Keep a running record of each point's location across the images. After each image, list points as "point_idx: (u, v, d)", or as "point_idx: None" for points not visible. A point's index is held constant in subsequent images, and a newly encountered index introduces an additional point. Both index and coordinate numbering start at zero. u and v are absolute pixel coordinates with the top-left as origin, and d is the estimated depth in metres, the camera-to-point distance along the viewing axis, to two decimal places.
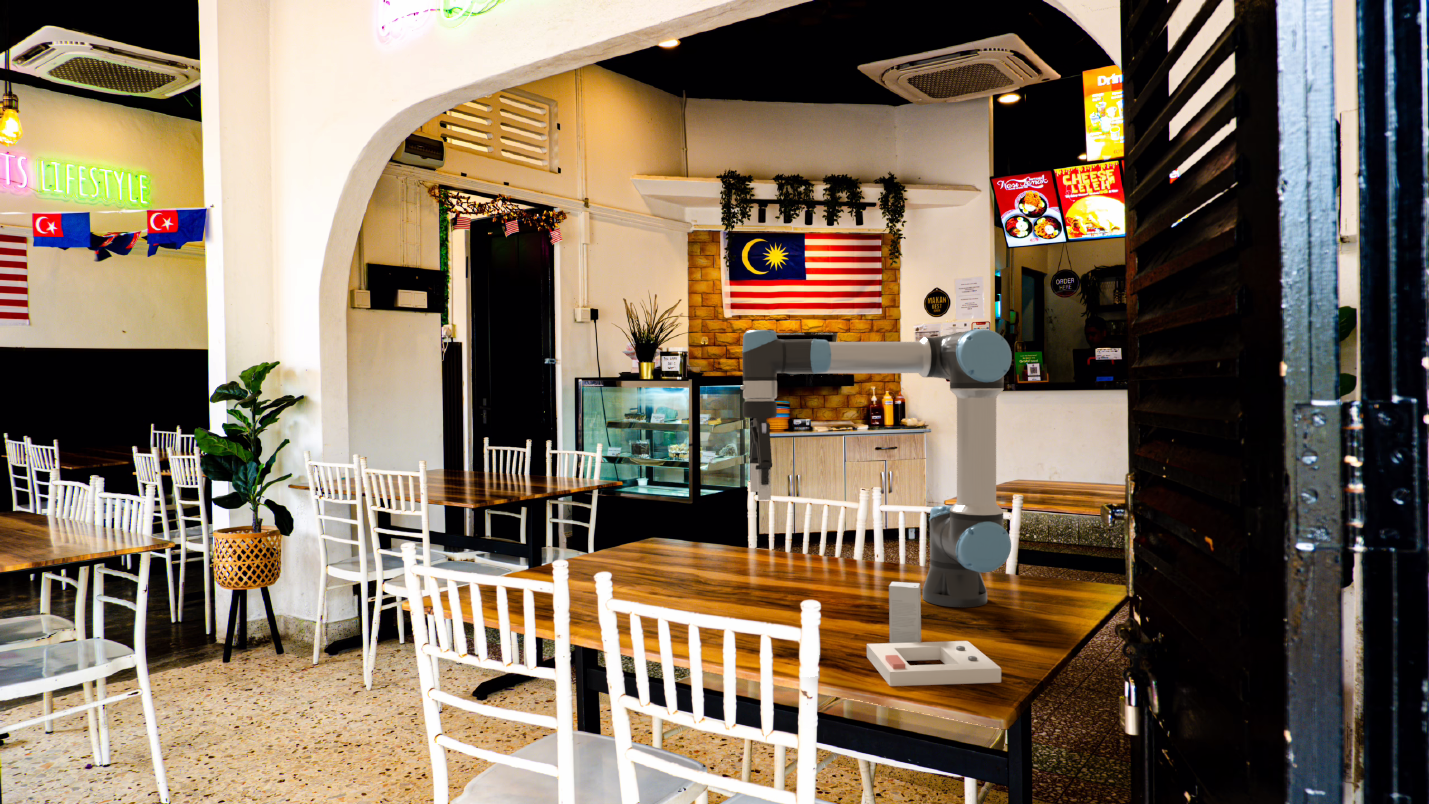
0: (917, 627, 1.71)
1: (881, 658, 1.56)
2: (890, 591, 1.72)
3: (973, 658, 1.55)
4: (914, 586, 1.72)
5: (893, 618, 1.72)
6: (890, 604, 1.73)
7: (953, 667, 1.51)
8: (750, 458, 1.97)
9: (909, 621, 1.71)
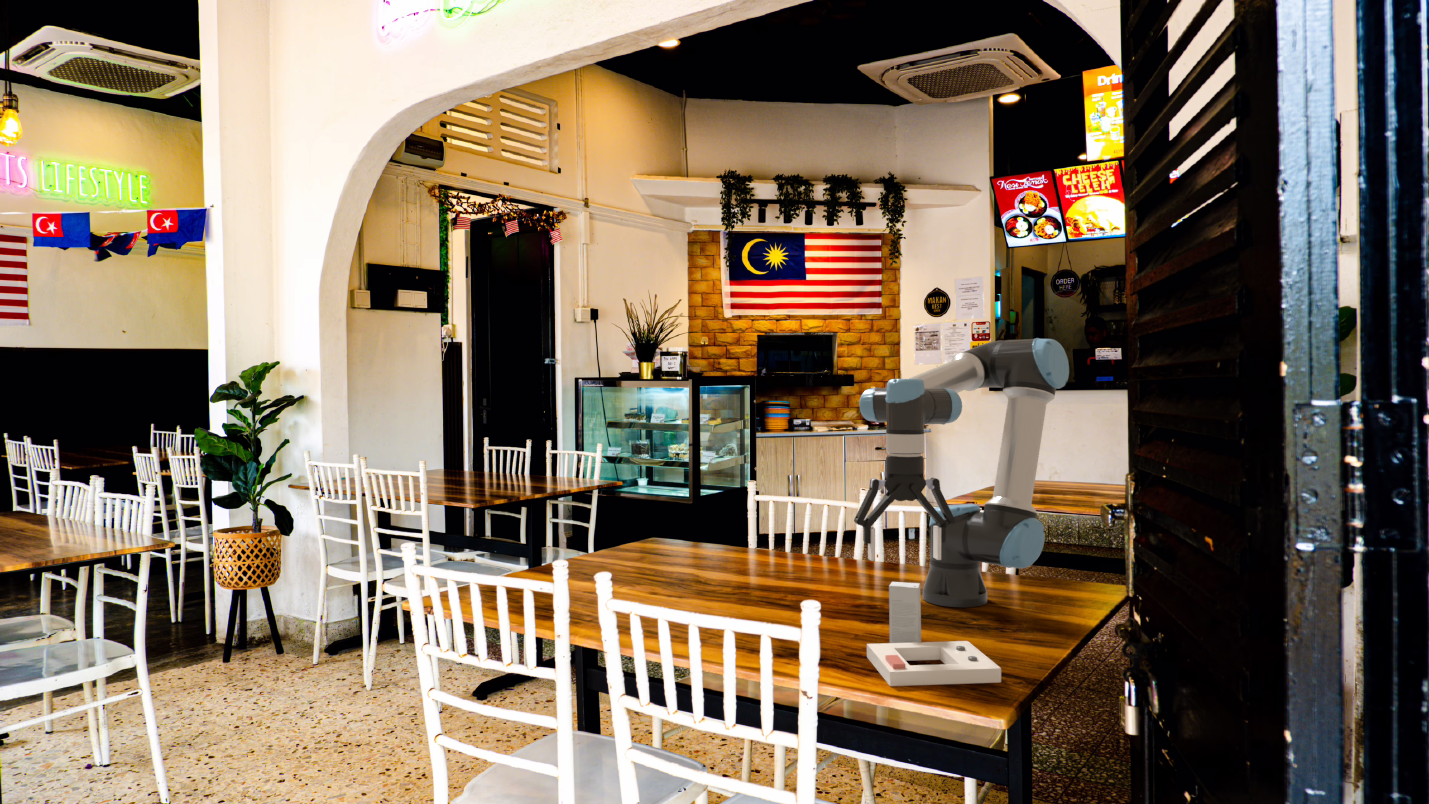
0: (917, 627, 1.71)
1: (881, 658, 1.56)
2: (890, 591, 1.72)
3: (973, 658, 1.55)
4: (914, 586, 1.72)
5: (893, 618, 1.72)
6: (890, 604, 1.73)
7: (953, 667, 1.51)
8: None
9: (909, 621, 1.71)
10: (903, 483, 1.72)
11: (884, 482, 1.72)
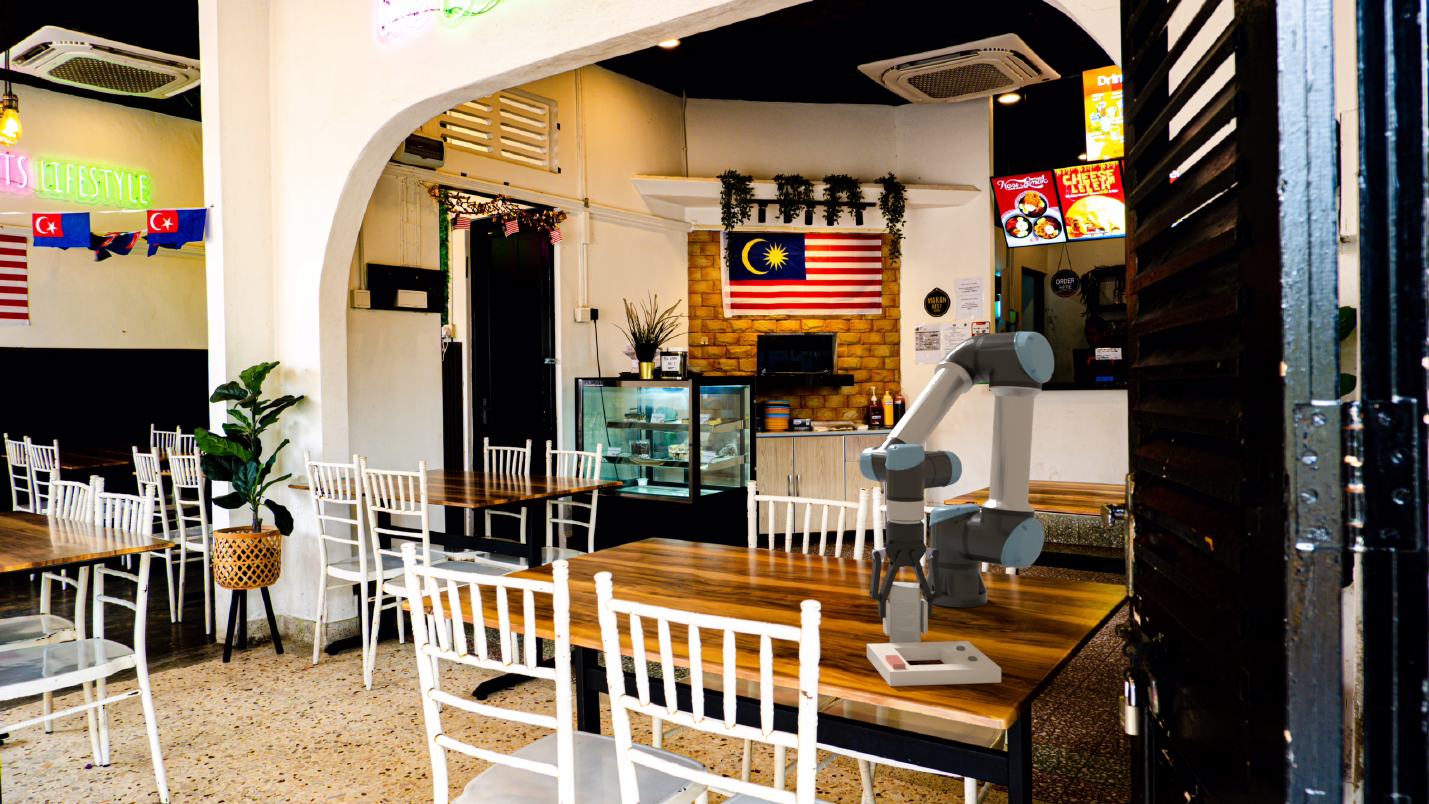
0: (917, 627, 1.71)
1: (881, 658, 1.56)
2: (890, 591, 1.72)
3: (973, 658, 1.55)
4: (914, 586, 1.72)
5: (893, 617, 1.72)
6: (890, 604, 1.72)
7: (953, 667, 1.51)
8: None
9: (909, 620, 1.71)
10: (903, 545, 1.72)
11: (884, 550, 1.72)
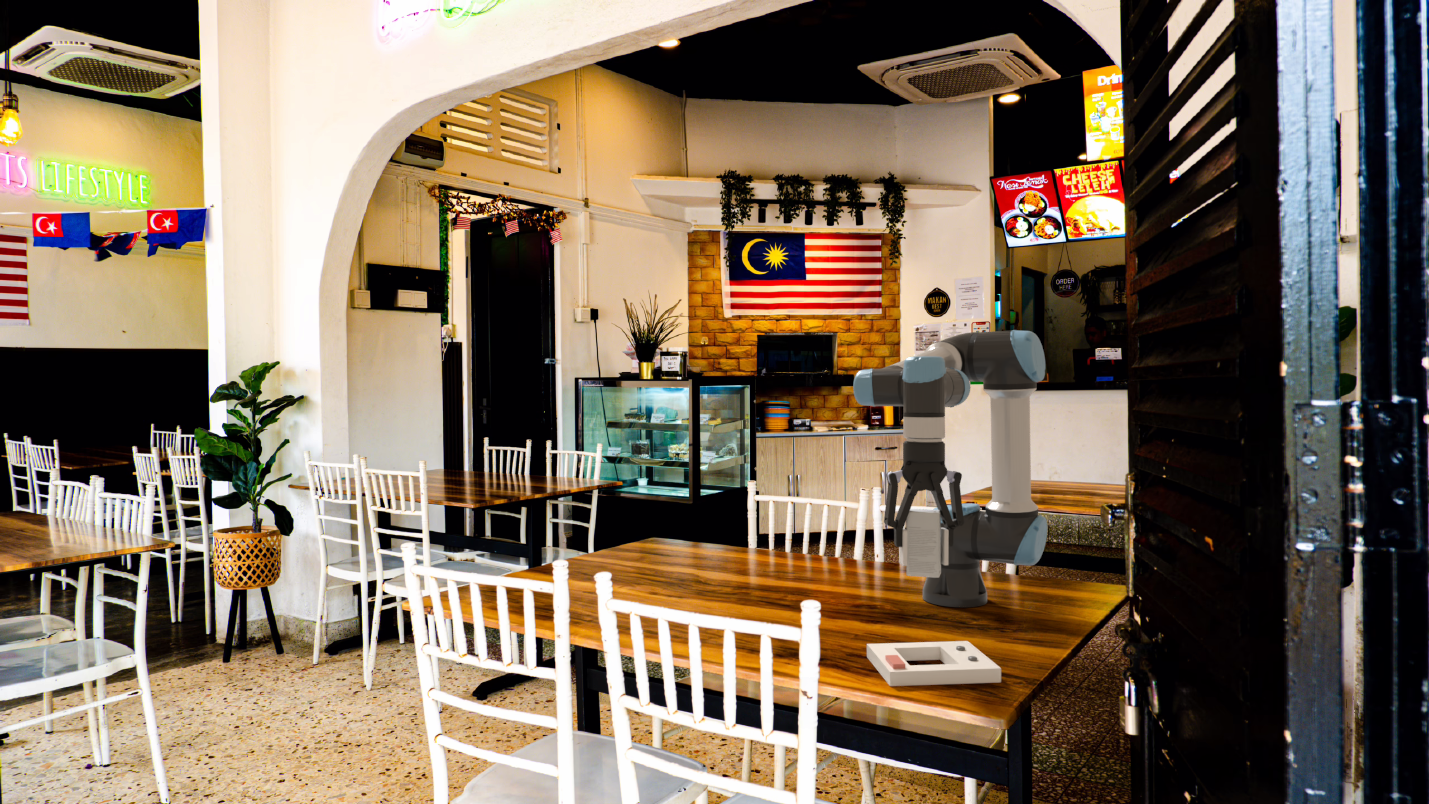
0: (937, 556, 1.55)
1: (881, 658, 1.56)
2: (907, 517, 1.57)
3: (973, 658, 1.55)
4: (934, 511, 1.56)
5: (910, 546, 1.56)
6: (907, 531, 1.57)
7: (953, 667, 1.51)
8: None
9: (928, 549, 1.55)
10: (921, 467, 1.56)
11: (901, 472, 1.57)
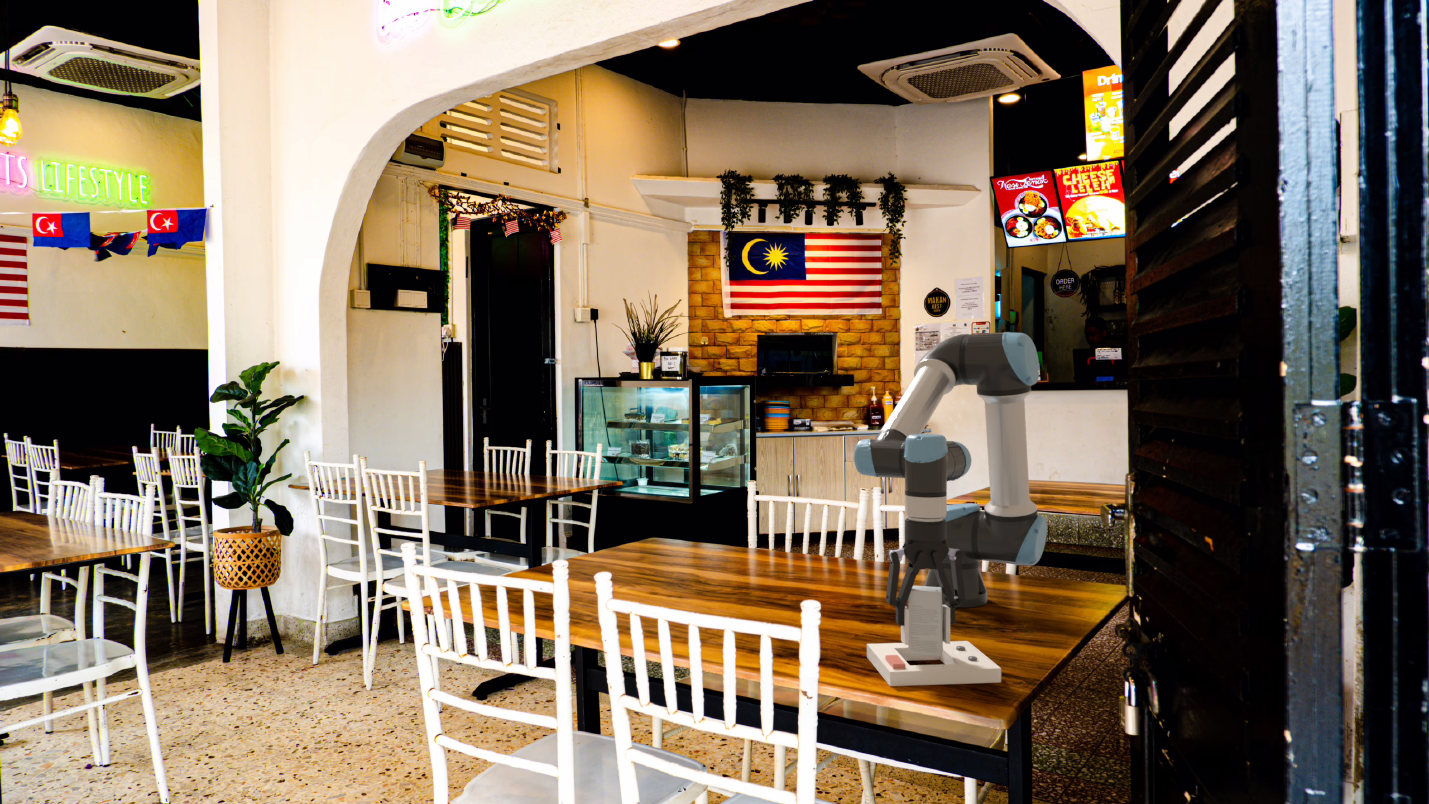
0: (939, 635, 1.55)
1: (881, 658, 1.56)
2: (909, 596, 1.56)
3: (973, 658, 1.55)
4: (936, 590, 1.56)
5: (912, 625, 1.56)
6: (909, 610, 1.56)
7: (953, 667, 1.51)
8: None
9: (930, 628, 1.55)
10: (923, 545, 1.56)
11: (903, 551, 1.56)
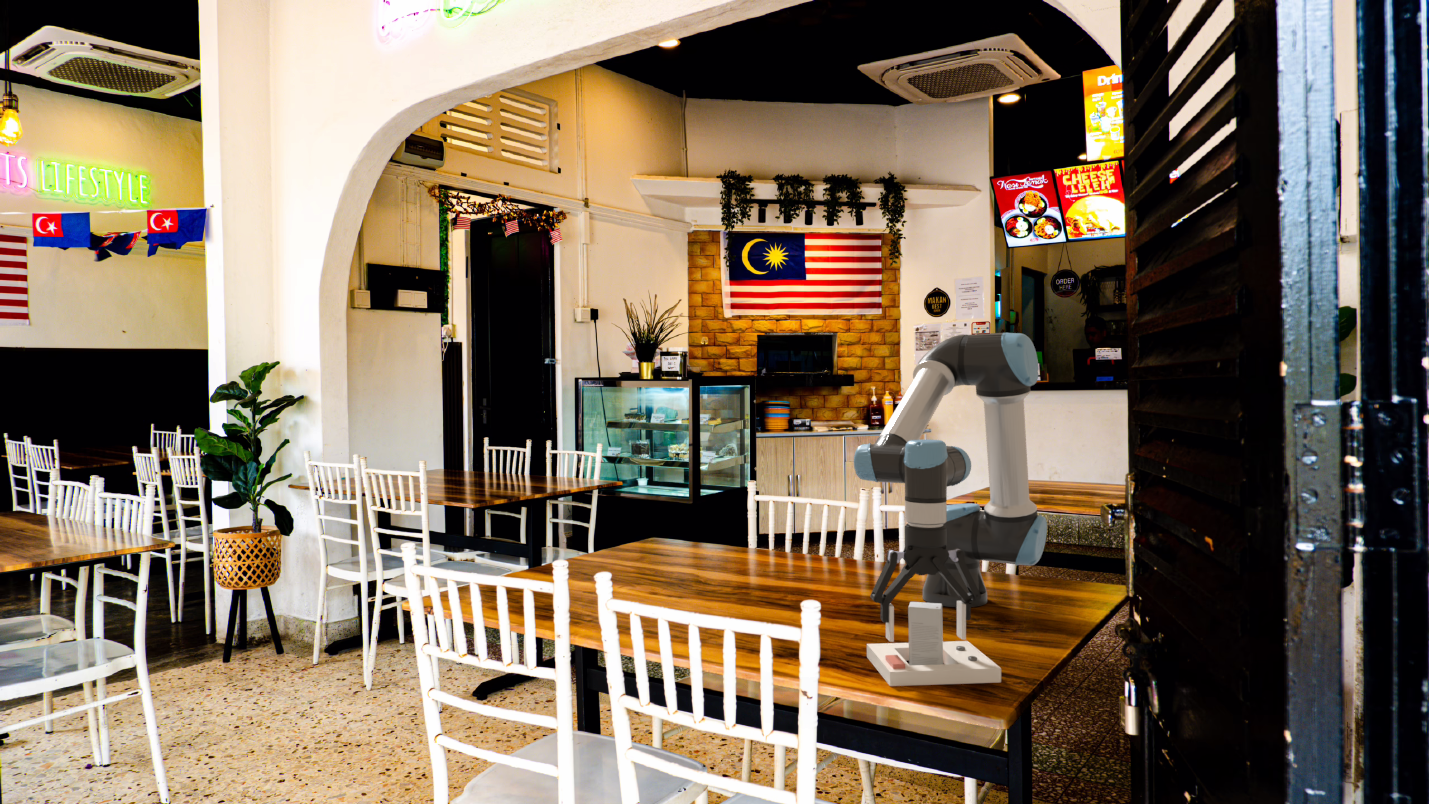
0: (940, 652, 1.55)
1: (881, 658, 1.56)
2: (910, 613, 1.56)
3: (973, 658, 1.55)
4: (936, 607, 1.56)
5: (913, 642, 1.56)
6: (910, 627, 1.56)
7: (953, 667, 1.51)
8: None
9: (931, 645, 1.55)
10: (924, 555, 1.56)
11: (903, 554, 1.56)
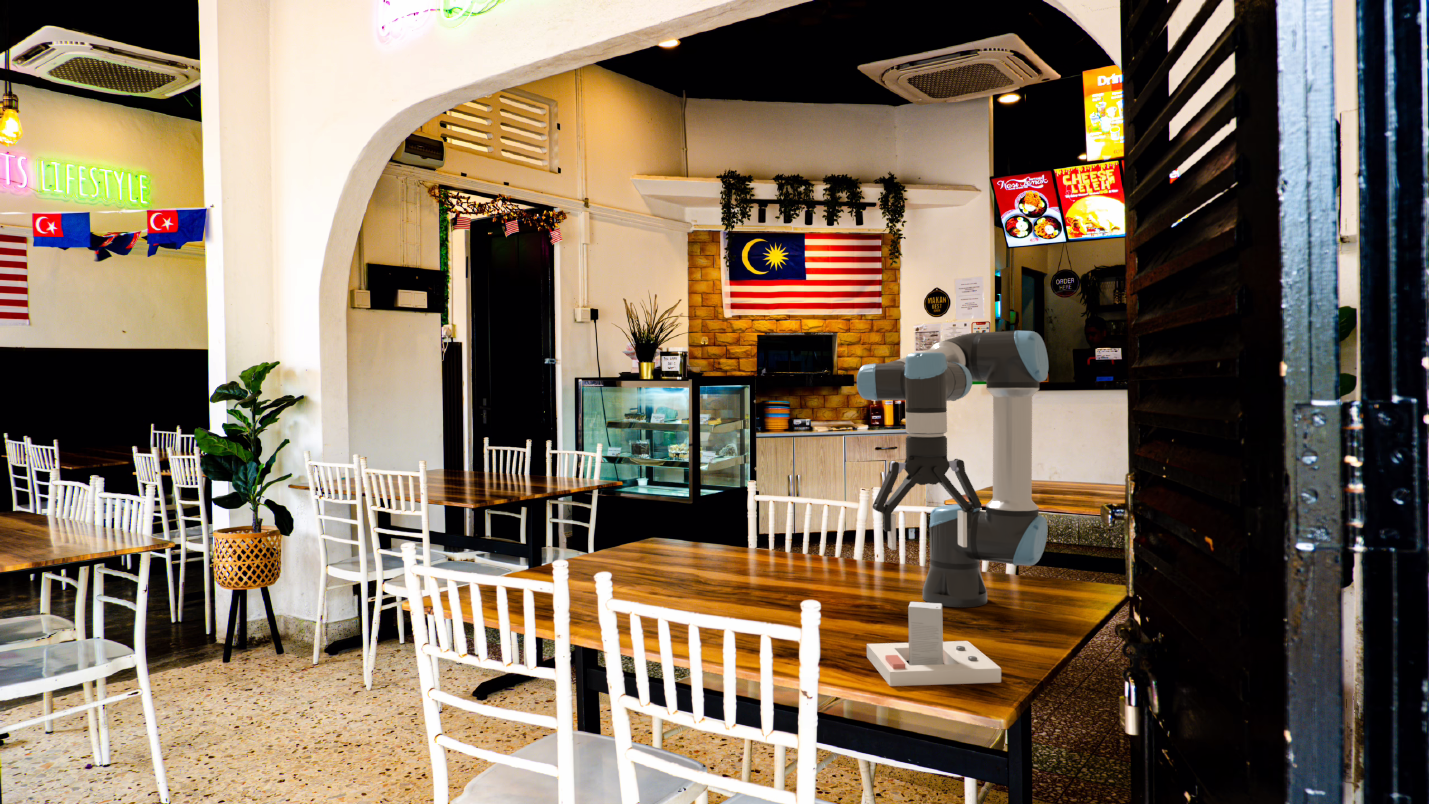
0: (940, 652, 1.55)
1: (881, 658, 1.56)
2: (910, 612, 1.56)
3: (973, 658, 1.55)
4: (936, 607, 1.56)
5: (913, 642, 1.56)
6: (910, 627, 1.56)
7: (953, 667, 1.51)
8: None
9: (931, 645, 1.55)
10: (925, 465, 1.59)
11: (904, 465, 1.59)
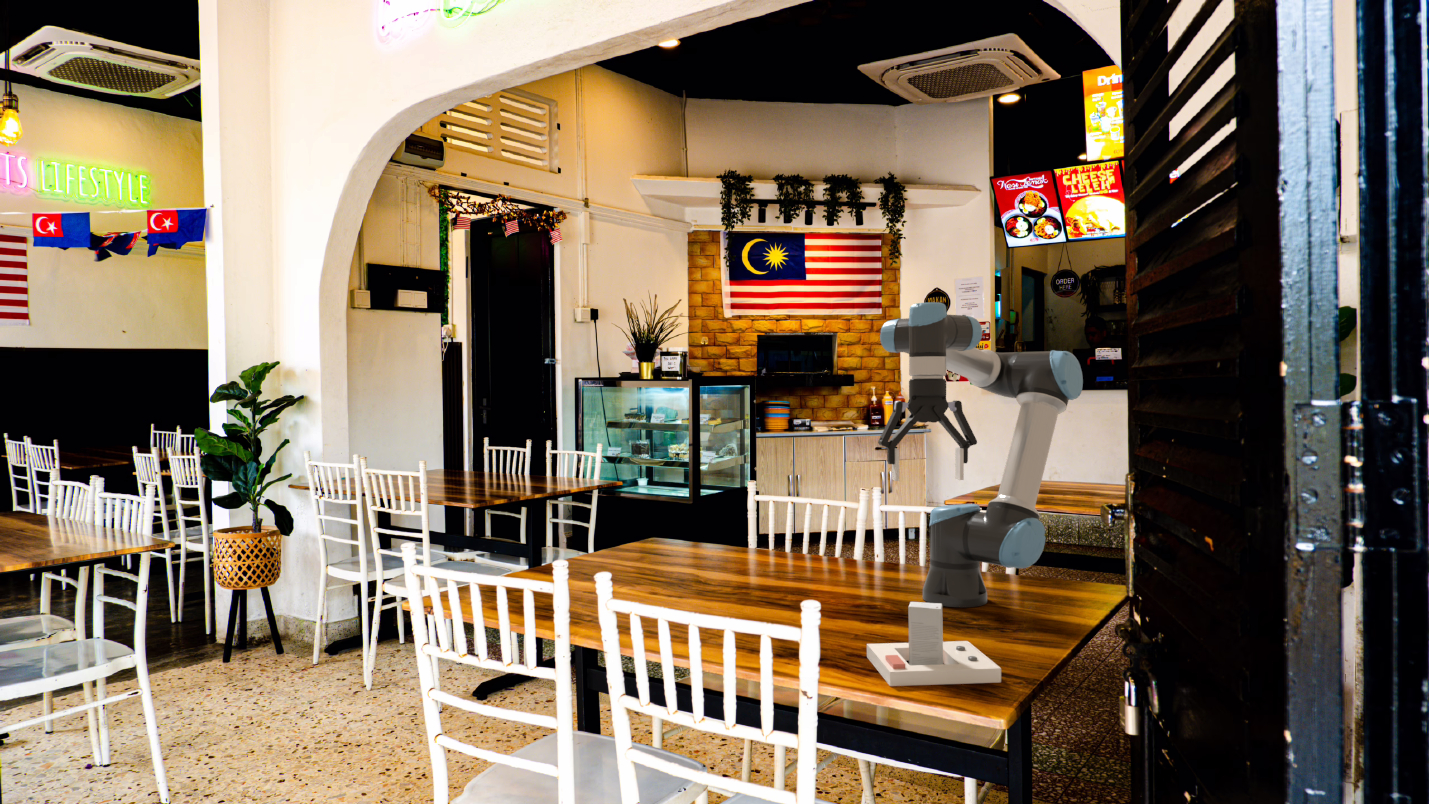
0: (940, 652, 1.55)
1: (881, 658, 1.56)
2: (910, 612, 1.56)
3: (973, 658, 1.55)
4: (936, 607, 1.56)
5: (913, 642, 1.56)
6: (910, 627, 1.56)
7: (953, 667, 1.51)
8: None
9: (931, 645, 1.55)
10: (926, 405, 1.76)
11: (907, 404, 1.76)
